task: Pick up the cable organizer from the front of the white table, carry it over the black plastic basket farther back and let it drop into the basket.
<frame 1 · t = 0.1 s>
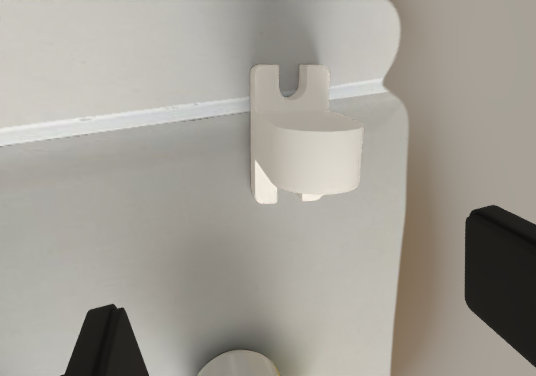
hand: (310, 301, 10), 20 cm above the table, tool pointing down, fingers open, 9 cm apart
cable organizer: (284, 132, 30), on the table
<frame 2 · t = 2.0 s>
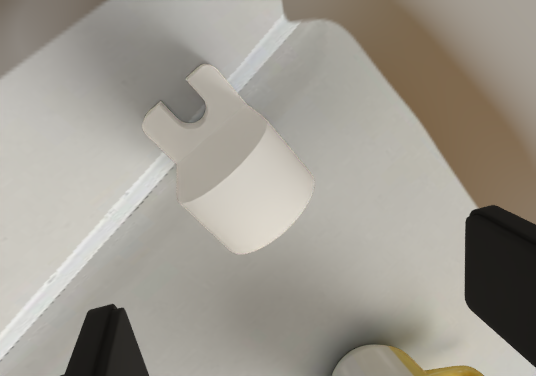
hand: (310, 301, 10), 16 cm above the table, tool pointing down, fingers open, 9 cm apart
mug: (379, 367, 34), on the table
cable organizer: (228, 149, 25), on the table
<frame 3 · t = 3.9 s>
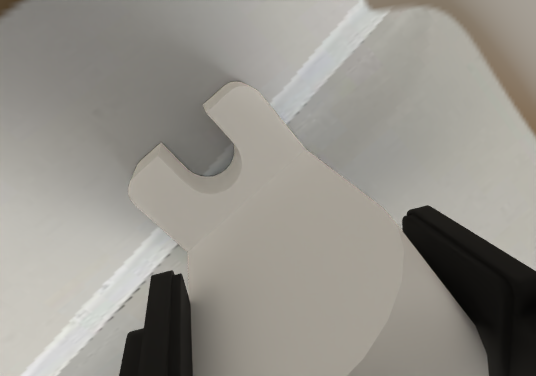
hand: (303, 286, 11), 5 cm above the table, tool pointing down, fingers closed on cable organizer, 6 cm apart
cable organizer: (268, 214, 16), on the table, touching gripper
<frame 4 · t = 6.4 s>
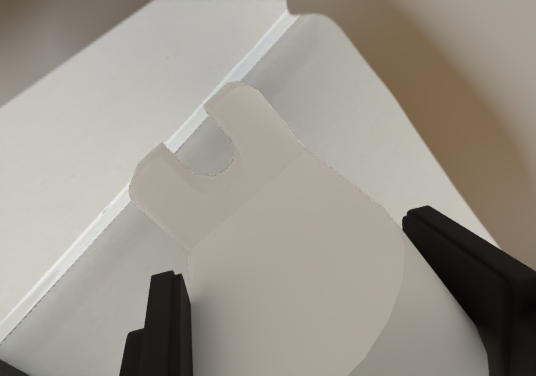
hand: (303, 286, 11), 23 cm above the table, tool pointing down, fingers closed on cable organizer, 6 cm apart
cable organizer: (268, 214, 16), point 18 cm above the table, touching gripper
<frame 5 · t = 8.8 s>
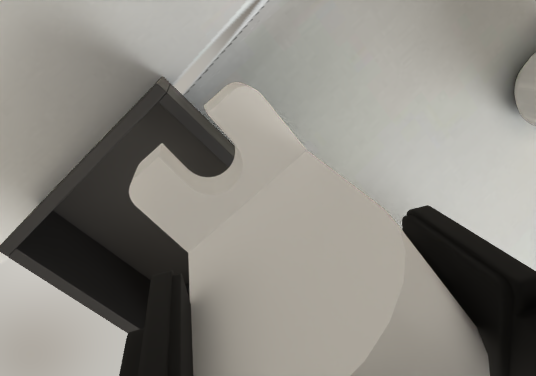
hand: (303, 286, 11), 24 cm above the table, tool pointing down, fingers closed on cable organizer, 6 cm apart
basket: (169, 200, 34), on the table
cable organizer: (269, 215, 16), point 18 cm above the table, touching gripper
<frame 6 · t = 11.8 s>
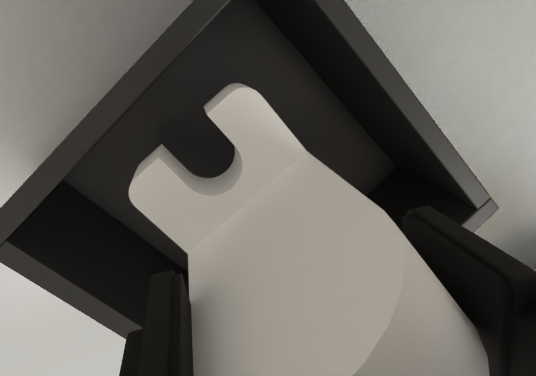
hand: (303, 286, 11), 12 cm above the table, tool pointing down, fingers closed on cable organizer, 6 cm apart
basket: (241, 168, 22), on the table
cable organizer: (268, 215, 16), point 7 cm above the table, touching gripper
when the fingers open (6 cm above the table, at t = 14.0 s): cable organizer stays where it is, resting on basket.
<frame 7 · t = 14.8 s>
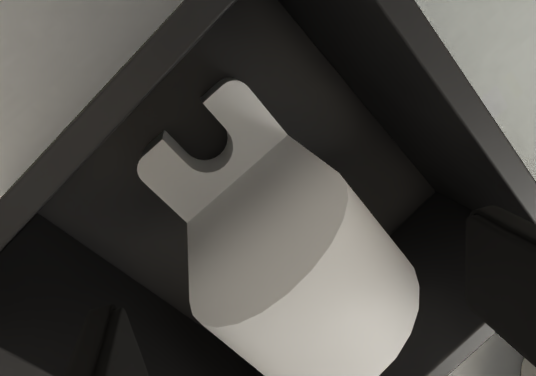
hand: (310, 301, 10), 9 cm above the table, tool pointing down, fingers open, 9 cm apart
basket: (253, 194, 19), on the table
cable organizer: (257, 194, 18), point 1 cm above the table, touching basket
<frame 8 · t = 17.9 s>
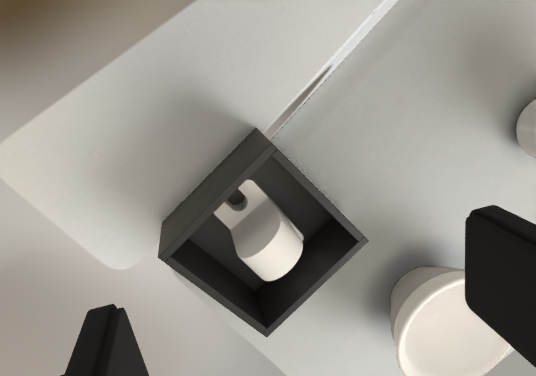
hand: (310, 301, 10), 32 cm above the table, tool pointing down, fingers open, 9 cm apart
bowl: (418, 293, 54), on the table
basket: (255, 217, 45), on the table
cable organizer: (256, 217, 44), point 1 cm above the table, touching basket
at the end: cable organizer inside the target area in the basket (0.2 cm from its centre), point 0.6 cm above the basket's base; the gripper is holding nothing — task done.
